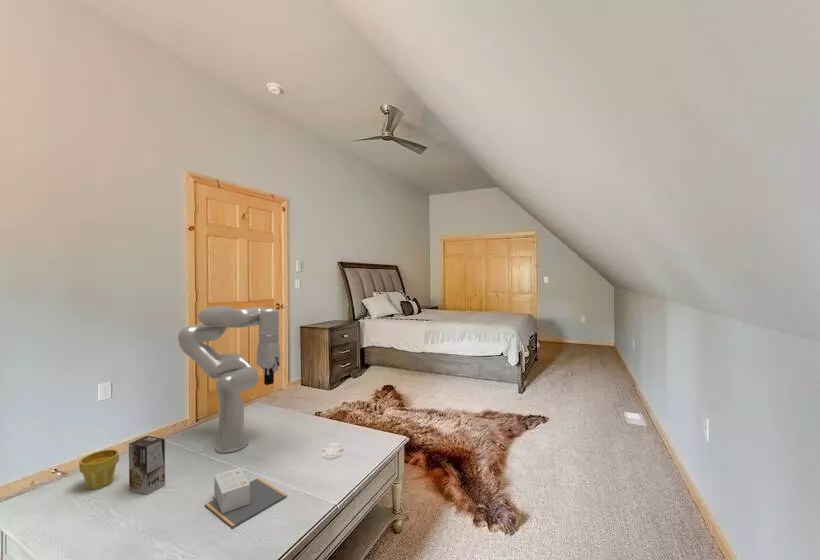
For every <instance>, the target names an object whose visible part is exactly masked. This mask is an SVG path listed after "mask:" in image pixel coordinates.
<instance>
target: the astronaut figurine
mask: <svg viewBox="0 0 820 560" xmlns="http://www.w3.org/2000/svg"><path fill="white" fill-rule="evenodd" d="M344 450H345V449H344V447H341V443H339V442H329V443H327V444H326V447H325V448H322V452H323V453H322V454H321V458H322V459H324V460H327V461H328V460H329V461H331V460H332V461H333V460H336V459H338V458H340V457H342V453H341V452H343V451H344Z"/></svg>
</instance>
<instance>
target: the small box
mask: <svg viewBox="0 0 820 560" xmlns="http://www.w3.org/2000/svg"><path fill="white" fill-rule="evenodd" d="M249 482H250V481H249V480H248V478H247V477H246V475H245V473H244V471H243V470H242V468H241V467H237V468H234V469H231V470H227V471H224V472H221V473H217V474H215V475H214V489H213V490H214V496H215V499H216V500H217V502H218V505H219V507H220V510H221V512H222V514H224V513H226V512H229V511H232V510H234V509H237V508H240V507H243V506H245V505H248V504H250V484H249Z"/></svg>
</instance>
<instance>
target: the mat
mask: <svg viewBox="0 0 820 560" xmlns="http://www.w3.org/2000/svg"><path fill="white" fill-rule="evenodd" d="M248 482H249V484H250V504H248V505H245V506H243V507H240V508H237V509H234V510H232V511H229V512H226V513H224V514H222V512H221V510H220V507H219V505H218V502H217V500H216V498H215V499H213V500H211V501H209V502H205V504H204V507H205V508H206V509H207V510H209V511H210V512H211V513H212V514H214V515H215V516H216V517H217V518H219V520H221V521H222V522H223V523H225V524H226V525H227V526H228V527H230V528H231V529H233V530H234V528H237V527H238V526H240V525H241V524H243V523H245V522H246V521H248V520H250V519H252V518H253V517H255V516H257V515H258V514H261V513H262V512H264V511H266V510H268V509H269V508H271V507H273V506H275V505H276V504H278V503H280V502H281V501H283V500H284V499H286V498H287V497H288V495H287V493H285V492H283V491H282V490H280V489H278V488H277V487H276V486H274V485H271V484H270V483H269V482H267V481H265V480H263V479H261V478H260V477H257V478H255V479H254V480H250V481H248Z"/></svg>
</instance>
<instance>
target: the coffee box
mask: <svg viewBox="0 0 820 560" xmlns="http://www.w3.org/2000/svg"><path fill="white" fill-rule="evenodd" d="M165 440H166V439H165V438H162V437H156V436H153V435H152V436H151V435H145V436H143V437H140V438H138V439H136V440H134V441H131V442H129V443H128V475H129V477H128V482H129V483H128V484H129V486H128V489H129V490H128V491H132V492H136V493H139V494H142V495H143V494H144V495H147V496H149V494H152V493H154V492H155V491H157V490H159V489H160V488H163V487H165V485H166V458H165V457H166V456H165V455H166V446H165V444H166V441H165Z"/></svg>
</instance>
